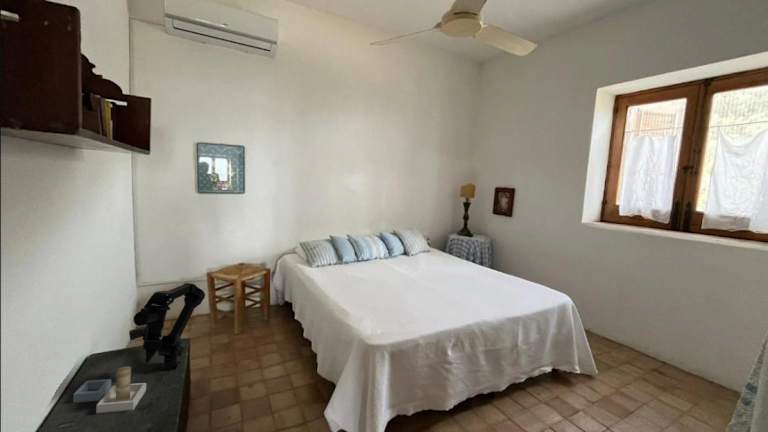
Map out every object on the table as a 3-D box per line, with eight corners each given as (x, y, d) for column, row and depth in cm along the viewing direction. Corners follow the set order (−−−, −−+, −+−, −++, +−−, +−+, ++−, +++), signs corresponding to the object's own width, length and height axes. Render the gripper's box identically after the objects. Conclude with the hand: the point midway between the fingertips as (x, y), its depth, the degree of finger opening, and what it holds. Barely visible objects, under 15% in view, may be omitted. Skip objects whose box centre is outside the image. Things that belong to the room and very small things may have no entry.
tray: (112, 393, 128) (112, 385, 127) (146, 390, 131) (146, 382, 131) (96, 413, 117) (96, 405, 116) (133, 410, 120) (133, 401, 120)
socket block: (86, 388, 129) (86, 380, 128) (111, 386, 131) (111, 379, 131) (73, 402, 121) (73, 394, 120) (99, 400, 123) (99, 392, 123)
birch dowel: (115, 399, 124) (115, 368, 123) (129, 394, 127) (130, 365, 126) (116, 405, 121) (117, 374, 120) (130, 400, 124) (131, 370, 123)
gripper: (134, 316, 138) (124, 352, 136) (132, 326, 124) (121, 367, 121) (163, 316, 145) (155, 351, 143) (166, 326, 130) (156, 365, 128)
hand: (146, 358), depth 133 cm, fingers open, 9 cm apart
